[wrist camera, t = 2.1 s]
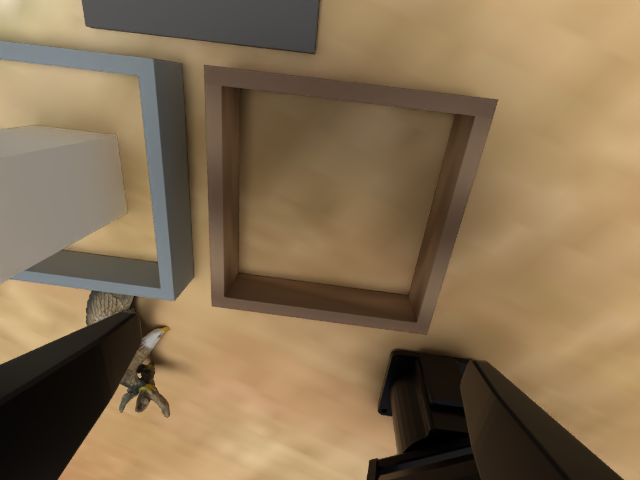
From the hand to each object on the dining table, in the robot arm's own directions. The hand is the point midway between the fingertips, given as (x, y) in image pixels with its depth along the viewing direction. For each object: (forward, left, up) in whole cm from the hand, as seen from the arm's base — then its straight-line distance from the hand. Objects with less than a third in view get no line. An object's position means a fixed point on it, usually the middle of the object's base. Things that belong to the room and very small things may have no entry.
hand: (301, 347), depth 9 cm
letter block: (0, +16, -13) cm, 20 cm away
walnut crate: (0, 0, -13) cm, 13 cm away
